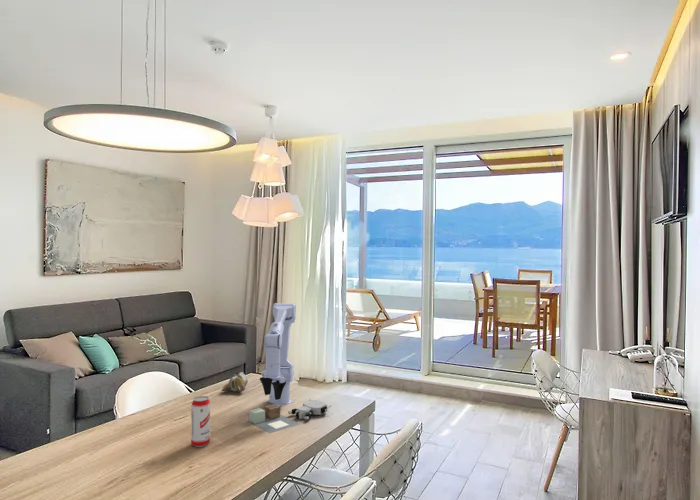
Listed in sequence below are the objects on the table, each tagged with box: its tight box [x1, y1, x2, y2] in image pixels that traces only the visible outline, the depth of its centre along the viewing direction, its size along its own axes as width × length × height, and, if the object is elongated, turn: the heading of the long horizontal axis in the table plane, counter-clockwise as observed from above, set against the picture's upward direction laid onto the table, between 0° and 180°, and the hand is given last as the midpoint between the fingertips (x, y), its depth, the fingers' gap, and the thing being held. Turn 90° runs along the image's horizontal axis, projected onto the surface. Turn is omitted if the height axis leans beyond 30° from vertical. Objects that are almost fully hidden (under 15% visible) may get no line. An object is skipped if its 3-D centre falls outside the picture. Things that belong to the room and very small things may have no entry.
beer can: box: [190, 395, 211, 448], centre depth 163 cm, size 6×6×16 cm
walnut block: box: [264, 403, 281, 419], centre depth 190 cm, size 4×4×4 cm
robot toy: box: [287, 398, 332, 420], centre depth 193 cm, size 12×4×15 cm
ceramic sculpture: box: [221, 371, 249, 393], centre depth 226 cm, size 11×9×15 cm
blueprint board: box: [245, 413, 301, 434], centre depth 184 cm, size 18×14×1 cm
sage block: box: [248, 407, 265, 424], centre depth 185 cm, size 4×4×4 cm
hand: (272, 396), depth 190 cm, fingers open, 7 cm apart
